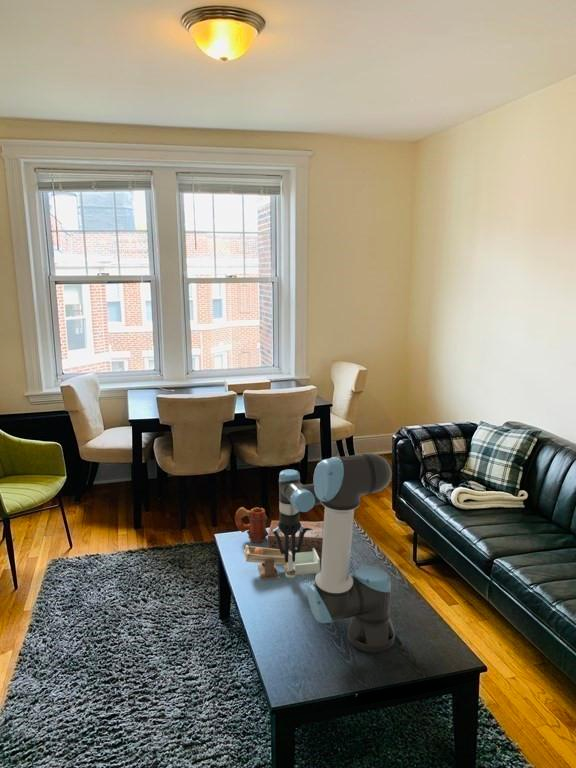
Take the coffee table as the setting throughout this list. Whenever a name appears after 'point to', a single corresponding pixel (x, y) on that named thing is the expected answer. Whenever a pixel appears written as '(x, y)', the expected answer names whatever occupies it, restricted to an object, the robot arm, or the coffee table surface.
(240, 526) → the mug
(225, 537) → the coffee table surface
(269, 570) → the fulcrum
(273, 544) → the tissue box cover
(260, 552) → the ball
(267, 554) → the lever
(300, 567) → the bin
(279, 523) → the robot arm
